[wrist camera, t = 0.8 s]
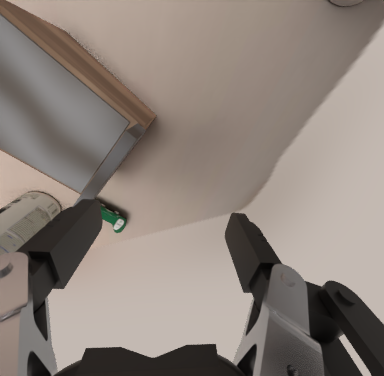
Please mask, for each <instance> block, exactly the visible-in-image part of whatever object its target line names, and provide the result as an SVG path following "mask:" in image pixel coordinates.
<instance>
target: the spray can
mask: <svg viewBox="0 0 384 376" xmlns="http://www.w3.org/2000/svg"><path fill="white" fill-rule="evenodd" d="M60 211H61V207H60V204H59V203H58V202H57V201H56V200H55V199H54V198H52V197H51V196H49V195H47V194H45V193H42V192H29V193H26V194H24V195H22V196H20V197H19V198H17V199H16V200H14V201H12V202H11V203H9V204H7V205H6V206H5V207H3V208H1V209H0V255H2V254H5V253H10V252H16V251H17V250H18V249H19V248H20V247H21V246H22V245H23V244H25V243H26V242H27V241H28V240H29V239H30V238H31V237H32V236H34V235H35V234H36V233H37V232H38V231H39V230H40V229H42V228H43V227H45V225H46V224H47V223H48V222H49V221H52V219H53V218H54V217H55V216H56V215H57V214H58V213H60Z"/></svg>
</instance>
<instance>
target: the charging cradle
mask: <svg viewBox="0 0 384 376" xmlns="http://www.w3.org/2000/svg"><path fill="white" fill-rule="evenodd" d="M155 117H156V115H155V114H154V113H153V112H152V111H151V110H150V109H149V108H148V107H147V106H146V105H145V104H143V103H142V102H141V101H140V100H139V99H138V98H137V97H136V96H135V95H134V94H133V93H132V92H130V91H129V90H128V89H127V88H126V87H125V86H124V85H123V84H122V83H121V82H120V81H119V80H117V79H116V78H115V77H114V76H113V75H112V74H111V73H110V72H109V71H108V70H107V69H106V68H104V67H103V66H102V65H101V64H100V63H99V62H98V61H97V60H96V59H95V58H94V57H93V56H91V55H90V54H89V53H88V52H87V51H86V50H85V49H84V48H83V47H82V46H81V45H80V44H79V43H77V42H76V41H75V40H74V39H73V38H72V37H71V36H70V35H69V34H68V33H67V32H66V31H64V30H62V29H60V28H58V27H56V26H54V25H52V24H50V23H48V22H46V21H44V20H43V19H41V18H39V17H37V16H35V15H33V14H31V13H29V12H27V11H25V10H23V9H21V8H20V7H18V6H16V5H14V4H12V3H10V2H8V1H6V0H0V150H2V151H3V152H5V153H7V154H9V155H11V156H12V157H14V158H16V159H18V160H20V161H21V162H23V163H25V164H27V165H29V166H30V167H32V168H34V169H36V170H38V171H39V172H41V173H43V174H45V175H47V176H48V177H50V178H52V179H54V180H56V181H57V182H59V183H61V184H63V185H65V186H66V187H68V188H70V189H72V190H74V191H75V192H77V193H79V194H81V196H80V197H79V198H78V200H77V201H76V203H75V204H74V206H75V205H76V204H77V203H78V202H79V201H80V200H82V199H93V200H94V199H95V198H96V196H97V195H98V194H99V192H100V191H101V190H102V188H103V187H104V186H105V184H106V183H107V182H108V180H109V179H110V178H111V176H112V175H113V174H114V173H115V171H116V170H117V169H118V167H119V166H120V165H121V163H122V162H123V161H124V159H125V158H126V157H127V155H128V154H129V153H130V151H131V150H132V149H133V147H134V146H135V145H136V144H137V142H138V141H139V140H140V138H141V137H142V136H143V134H144V133H145V132H146V129H147V128H148V127H149V125H150V124H151V123H152V121H153V120H154V119H155ZM74 206H73V207H74Z"/></svg>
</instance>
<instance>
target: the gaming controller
mask: <svg viewBox="0 0 384 376" xmlns="http://www.w3.org/2000/svg"><path fill="white" fill-rule="evenodd" d="M100 206H101V214H102V219H103V220H105V221H107V222H109V223H111V224H113V228H114V231H115V232H116V233H120V232H121V231H122V230H123V229H124V228H125V226H126V219H125V218H124V217H122V216H120V215H118V214H119V212H117V211H114V212H115V213H114V212H111V211H110V210H108V209H106V208H105V207H104V206H105V205H103V204H101V205H100Z"/></svg>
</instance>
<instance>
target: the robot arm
mask: <svg viewBox="0 0 384 376" xmlns="http://www.w3.org/2000/svg"><path fill="white" fill-rule="evenodd" d="M330 1H331V2H332V3H334V4H336V5H339V6H351V5H355V4H358V3H360V2H362V1H364V0H330ZM101 228H102V214H101V206H100V202H99V200H93V199H82V200H80V201H79V202H78V203H77V204H76V205H75V206H74V207H69V208H67V209H65V210H63V211H61V212H60V213H58V214H57V215H56V216H55V217H54V218H53V219H52V221H49V222H48V223H47V224H46V225H45V227H43V228H42V229H40V230H39V231H38V232H37V233H36V234H35V235H34V236H32V237H31V238H30V239H29V240H28V241H27V242H26V243H25V244H23V245H22V246H21V247H20V248H19V249H18V250H17V251H16V252H10V253H5V254H2V255H0V376H363V375H362V374H361V372H360V371H359V369H358V368H357V366H356V364H355V363H354V361H353V360H352V358H351V357H350V355H349V354H348V352H347V350H346V349H345V347H344V346H343V344H342V343H341V341H340V340H339V337H340V336H342V335H343V334H345V336H346V337H347V339H348V340H349V342H350V343H351V344H352V346H353V348H354V349H355V351H356V352H357V353H358V355H359V356H360V358H361V359H362V361H363V362H364V364H365V365H366V367H367V368H368V370H369V371H370V373H371V375H372V376H384V325H383V324H382V322H381V321H380V320H379V319H378V318H377V317H376V316H375V315H374V313H373V312H372V311H371V310H370V309H369V308H368V307H367V306H366V304H365V303H364V302H363V301H362V300H361V299H360V298H359V297H358V296H357V295H356V294H355V293H354V292H353V291H352V290H350V289H349V288H347V287H346V286H344V285H342V284H340V283H338V282H335V281H327V282H326V283H325V284H324V285H323V286H322V287H321V286H318V285H315V284H312V283H309V282H306V281H304V279H303V278H302V277H301V276H300V275H299V274H298V273H297V272H296V271H295V270H294V269H292V268H291V267H289V266H286V265H284V264H282V263H281V261H280V260H279V258H278V257H277V255H276V254H275V252H274V251H273V249H272V247H271V246H270V245H269V243H268V242H267V240H266V238H265V237H264V236H263V234H262V232H261V230H260V229H259V228H258V227H257V226H256V225H255V224H254V223H252V222H250V221H249V219H248V218H247V216H246V215H245V214H242V213H232V214H231V216H230V219H229V222H228V225H227V228H226V231H225V239H226V243H227V246H228V249H229V252H230V254H231V257H232V260H233V263H234V266H235V269H236V272H237V275H238V278H239V281H240V284H241V286H242V289H243V292H244V293H252V295H253V297H254V298H253V300H252V303H251V306H250V310H249V314H248V318H247V321H246V325H245V329H244V333H243V337H242V340H241V343H240V345H239V347H238V349H237V352H236V355H235V357H234V361H233V363H232V362H231V361H229V360H228V359H226V358H224V357H222V356H220V355H218V354H217V349H216V344H204V345H203V344H202V345H185V346H183V347H181V348H178V349H175V350H173V351H171V352H168V353H166V354H163V355H161V356H159V357H155V358H151V357H147V356H144V355H142V354H139V353H136V352H133V351H130V350H127V349H125V348H122V347H112V348H110V347H109V348H86V350H85V352H84V355H83V357H82V360H80V361H77V362H75V363H73V364H71V365H69V366H67V367H66V368H64V369H62V370H61V371H59V372H57V365H56V359H55V355H54V352H53V348H52V342H51V330H50V318H49V307H48V306H49V305H48V298H47V296H48V294H49V293H50V292H51V290H52V289H64V288H65V286H66V284H67V283H68V281H69V280H70V278H71V277H72V275H73V273H74V272H75V270H76V269H77V267H78V266H79V264H80V262H81V261H82V259H83V258H84V256H85V255H86V253H87V251H88V250H89V248H90V247H91V245H92V244H93V242H94V240H95V239H96V237H97V236H98V234H99V232H100V231H101Z"/></svg>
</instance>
